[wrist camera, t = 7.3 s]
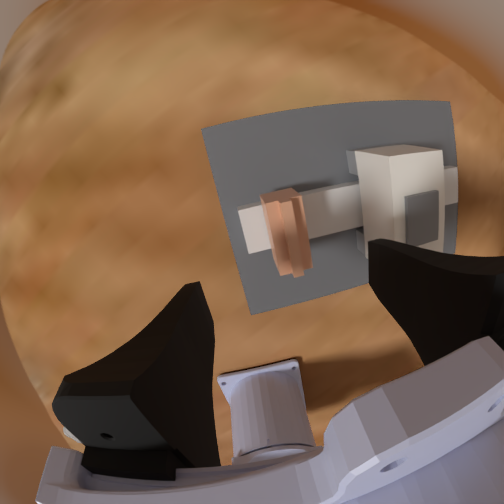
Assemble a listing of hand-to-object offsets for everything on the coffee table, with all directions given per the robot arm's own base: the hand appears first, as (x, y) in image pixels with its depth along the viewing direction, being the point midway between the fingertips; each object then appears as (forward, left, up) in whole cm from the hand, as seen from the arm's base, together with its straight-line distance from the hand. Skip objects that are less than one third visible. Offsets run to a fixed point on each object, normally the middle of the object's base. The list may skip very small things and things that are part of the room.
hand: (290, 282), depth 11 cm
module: (0, -9, -8) cm, 12 cm away
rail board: (0, -8, -9) cm, 12 cm away
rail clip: (0, -1, -7) cm, 7 cm away
